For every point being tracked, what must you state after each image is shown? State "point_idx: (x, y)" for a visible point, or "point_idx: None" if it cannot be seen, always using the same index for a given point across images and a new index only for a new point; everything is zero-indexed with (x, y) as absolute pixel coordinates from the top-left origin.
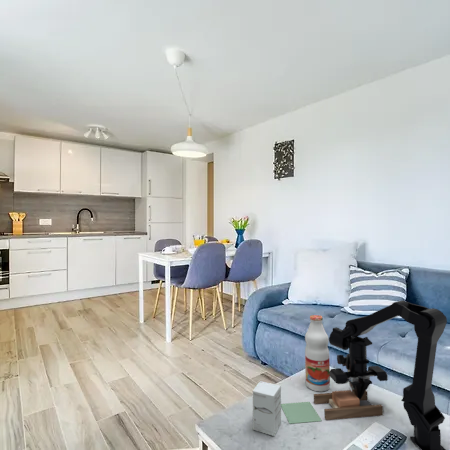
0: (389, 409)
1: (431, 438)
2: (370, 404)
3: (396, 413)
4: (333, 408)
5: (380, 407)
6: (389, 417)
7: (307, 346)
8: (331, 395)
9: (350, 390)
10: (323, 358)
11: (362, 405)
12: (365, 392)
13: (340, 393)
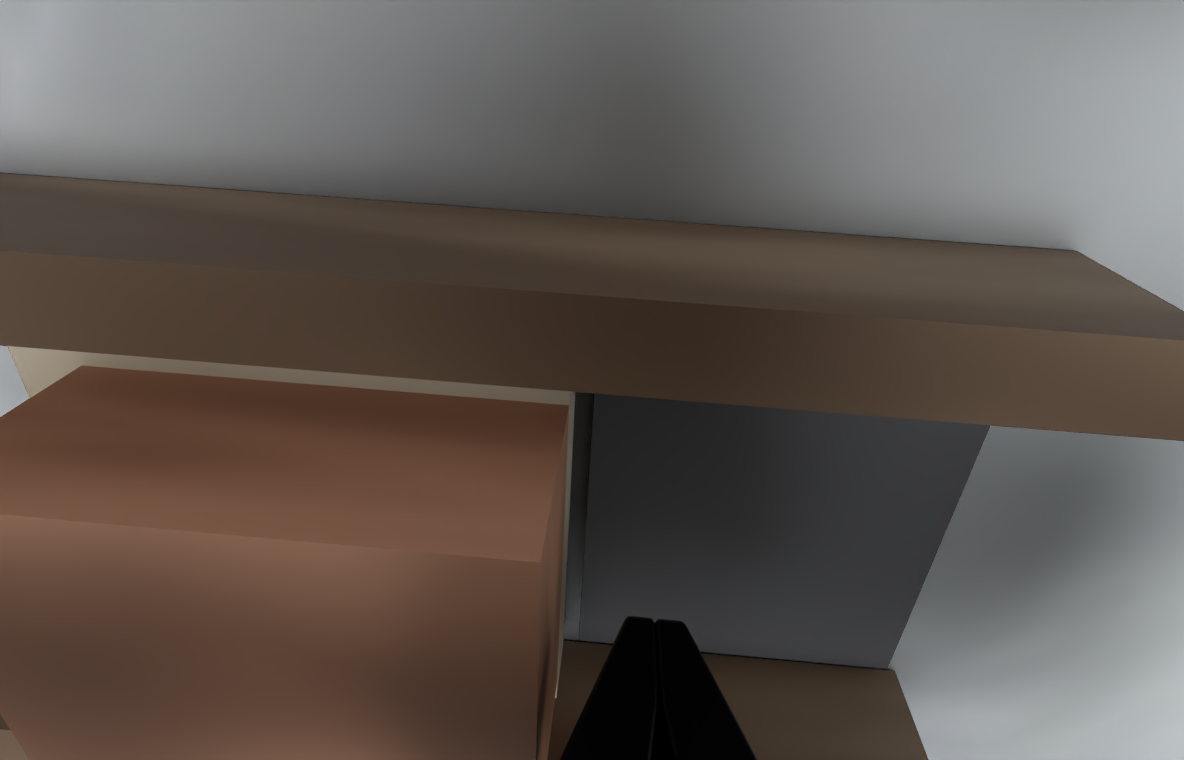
0: (1134, 634)
1: None
2: (935, 489)
3: (1125, 714)
4: (4, 732)
5: None
6: (927, 745)
7: None
8: (13, 330)
9: (519, 587)
10: None
11: (748, 488)
12: (1108, 422)
13: (134, 636)
